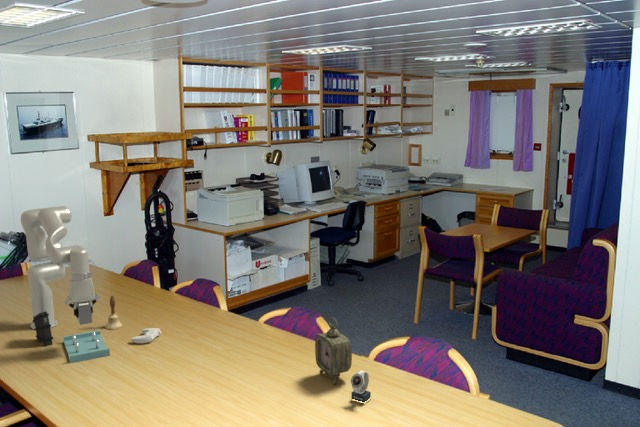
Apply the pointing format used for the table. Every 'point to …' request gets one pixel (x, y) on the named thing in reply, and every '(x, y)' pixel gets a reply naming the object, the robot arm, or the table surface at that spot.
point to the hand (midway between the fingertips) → (83, 315)
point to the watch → (360, 386)
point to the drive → (84, 312)
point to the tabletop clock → (333, 352)
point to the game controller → (146, 335)
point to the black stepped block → (43, 328)
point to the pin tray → (85, 346)
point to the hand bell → (113, 317)
